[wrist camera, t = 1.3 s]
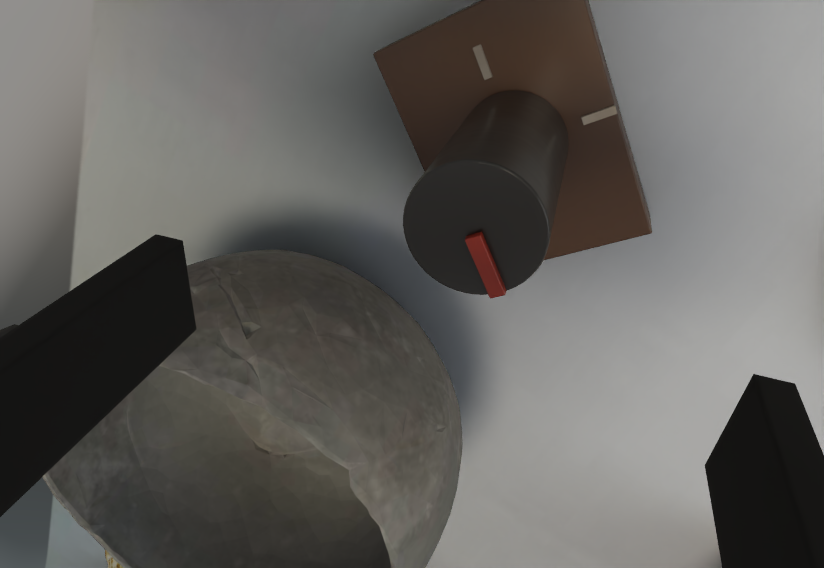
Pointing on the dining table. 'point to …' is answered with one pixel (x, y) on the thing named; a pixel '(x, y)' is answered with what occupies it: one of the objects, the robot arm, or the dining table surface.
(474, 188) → the dial
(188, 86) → the dining table surface
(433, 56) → the panel
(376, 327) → the bowl
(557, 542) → the dining table surface
